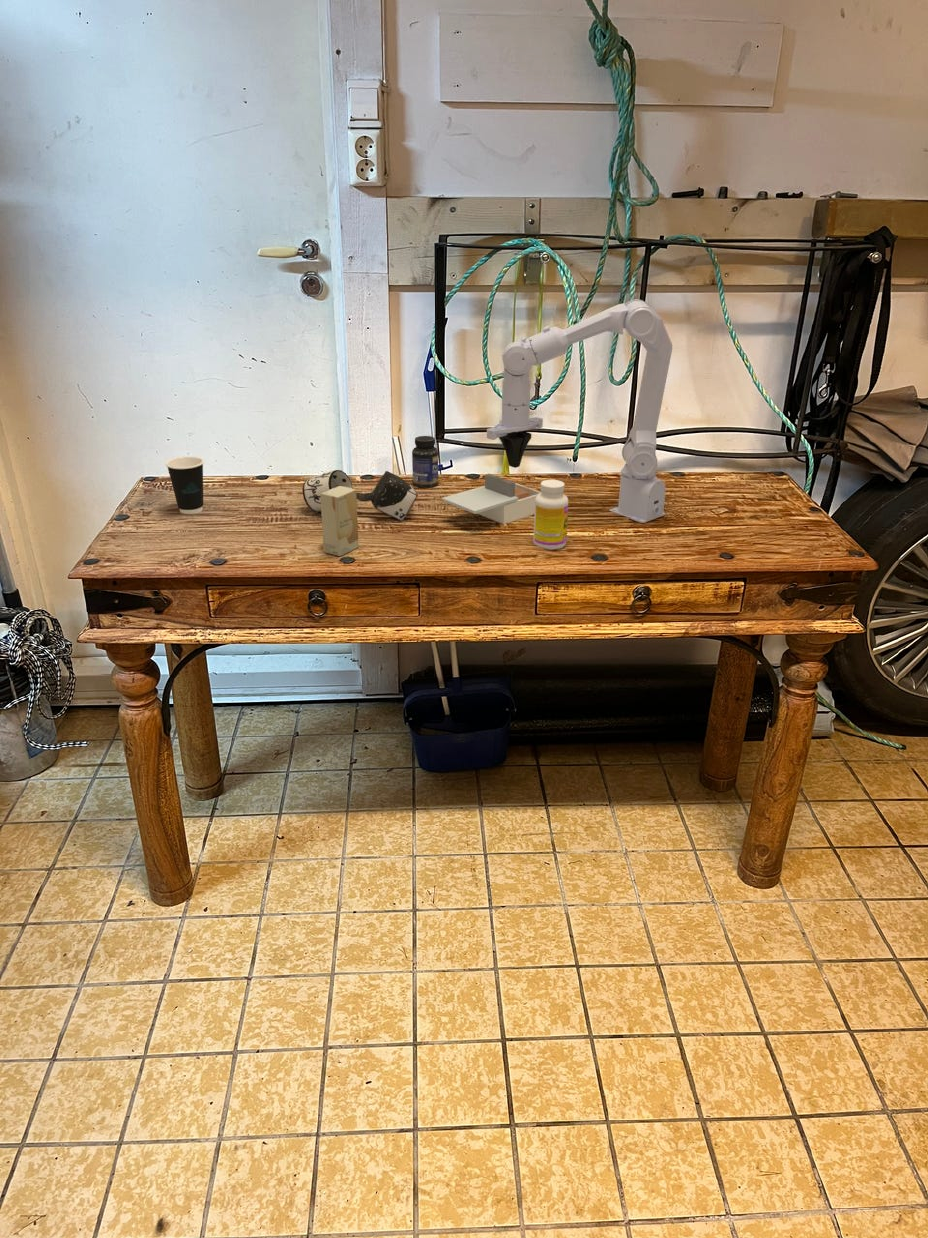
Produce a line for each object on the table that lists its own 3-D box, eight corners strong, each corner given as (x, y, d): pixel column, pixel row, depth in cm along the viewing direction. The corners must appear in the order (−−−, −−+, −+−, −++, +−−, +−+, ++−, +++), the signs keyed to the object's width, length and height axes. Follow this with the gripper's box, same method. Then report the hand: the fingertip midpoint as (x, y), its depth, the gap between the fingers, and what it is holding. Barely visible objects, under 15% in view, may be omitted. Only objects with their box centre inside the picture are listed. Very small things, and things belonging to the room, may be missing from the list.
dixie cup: (189, 501, 212) (183, 454, 207) (217, 507, 208) (211, 459, 203) (164, 513, 205) (157, 464, 200) (193, 519, 202) (186, 469, 197)
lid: (485, 487, 206) (485, 472, 204) (518, 500, 199) (519, 483, 197) (441, 500, 198) (441, 484, 197) (474, 513, 191) (475, 497, 190)
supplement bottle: (567, 551, 187) (571, 489, 181) (534, 550, 187) (536, 488, 181) (564, 538, 193) (568, 478, 187) (532, 538, 193) (534, 477, 187)
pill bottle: (437, 488, 220) (437, 442, 215) (411, 488, 220) (410, 442, 215) (439, 479, 226) (438, 434, 221) (413, 479, 226) (412, 434, 221)
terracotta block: (514, 504, 209) (515, 487, 207) (527, 509, 206) (528, 491, 205) (501, 508, 207) (502, 491, 205) (514, 513, 204) (514, 496, 202)
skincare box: (340, 557, 184) (336, 497, 178) (322, 552, 186) (318, 493, 180) (360, 546, 189) (357, 488, 183) (343, 542, 191) (339, 484, 185)
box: (511, 501, 213) (512, 481, 210) (543, 513, 206) (544, 492, 204) (472, 513, 205) (472, 493, 203) (503, 526, 199) (504, 505, 197)
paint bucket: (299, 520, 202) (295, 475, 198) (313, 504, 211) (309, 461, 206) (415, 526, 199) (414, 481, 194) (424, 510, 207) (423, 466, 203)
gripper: (527, 393, 203) (525, 455, 209) (477, 404, 194) (476, 468, 200) (550, 399, 198) (548, 462, 204) (500, 411, 189) (499, 476, 196)
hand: (514, 466), depth 202 cm, fingers closed
